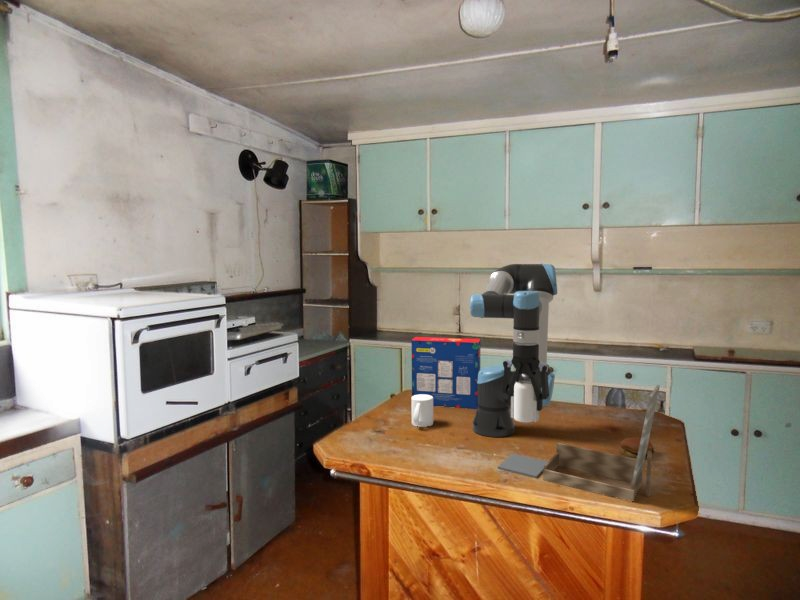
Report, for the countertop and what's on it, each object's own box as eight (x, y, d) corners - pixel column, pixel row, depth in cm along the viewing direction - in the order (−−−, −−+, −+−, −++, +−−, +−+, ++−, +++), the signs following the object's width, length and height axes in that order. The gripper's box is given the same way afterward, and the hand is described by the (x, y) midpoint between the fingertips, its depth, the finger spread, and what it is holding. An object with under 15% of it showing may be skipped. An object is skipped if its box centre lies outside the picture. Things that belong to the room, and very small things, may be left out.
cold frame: (543, 479, 149) (544, 381, 146) (556, 464, 159) (558, 372, 156) (647, 505, 134) (652, 395, 131) (655, 487, 144) (659, 385, 141)
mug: (435, 395, 199) (426, 404, 188) (435, 421, 200) (426, 431, 189) (415, 393, 202) (405, 401, 191) (415, 419, 203) (405, 429, 192)
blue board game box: (480, 403, 222) (480, 339, 219) (478, 409, 215) (478, 342, 212) (416, 399, 229) (415, 336, 226) (411, 405, 221) (411, 340, 219)
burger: (614, 452, 169) (614, 438, 168) (630, 446, 174) (631, 432, 173) (643, 463, 161) (643, 448, 160) (659, 456, 166) (660, 441, 165)
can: (536, 424, 153) (536, 384, 152) (513, 422, 155) (514, 383, 153) (535, 417, 160) (535, 378, 158) (513, 416, 161) (513, 377, 160)
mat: (497, 468, 157) (497, 466, 157) (513, 455, 167) (513, 453, 167) (536, 478, 150) (536, 476, 150) (550, 463, 160) (550, 461, 160)
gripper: (490, 341, 157) (489, 416, 159) (554, 348, 146) (552, 428, 149) (500, 338, 163) (499, 410, 166) (562, 344, 152) (560, 420, 155)
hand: (524, 418), depth 157 cm, fingers closed on can, 6 cm apart
